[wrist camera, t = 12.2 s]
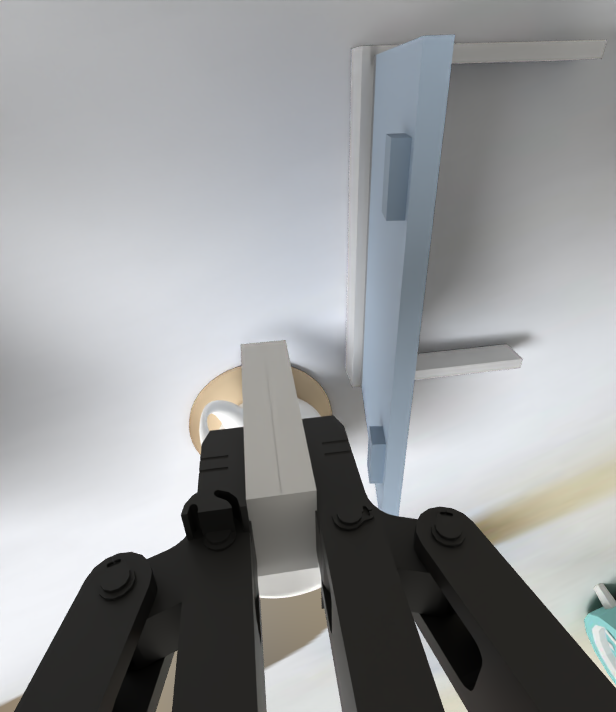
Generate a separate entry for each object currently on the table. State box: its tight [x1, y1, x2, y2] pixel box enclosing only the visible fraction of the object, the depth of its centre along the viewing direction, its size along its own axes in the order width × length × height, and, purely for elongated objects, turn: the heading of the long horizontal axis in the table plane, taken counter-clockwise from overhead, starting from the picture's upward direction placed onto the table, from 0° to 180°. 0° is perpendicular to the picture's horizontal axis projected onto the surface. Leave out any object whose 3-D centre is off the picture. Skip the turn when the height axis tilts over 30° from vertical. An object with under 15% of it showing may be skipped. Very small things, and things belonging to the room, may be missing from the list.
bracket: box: [345, 40, 607, 387], centre depth 28 cm, size 13×20×2 cm, turn 2°
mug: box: [199, 398, 321, 598], centre depth 30 cm, size 9×12×11 cm
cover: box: [361, 35, 455, 516], centre depth 22 cm, size 12×19×1 cm
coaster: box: [189, 366, 332, 455], centre depth 35 cm, size 11×11×1 cm
